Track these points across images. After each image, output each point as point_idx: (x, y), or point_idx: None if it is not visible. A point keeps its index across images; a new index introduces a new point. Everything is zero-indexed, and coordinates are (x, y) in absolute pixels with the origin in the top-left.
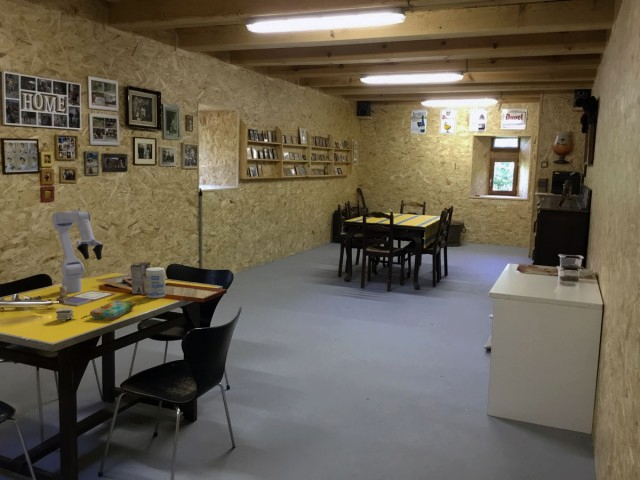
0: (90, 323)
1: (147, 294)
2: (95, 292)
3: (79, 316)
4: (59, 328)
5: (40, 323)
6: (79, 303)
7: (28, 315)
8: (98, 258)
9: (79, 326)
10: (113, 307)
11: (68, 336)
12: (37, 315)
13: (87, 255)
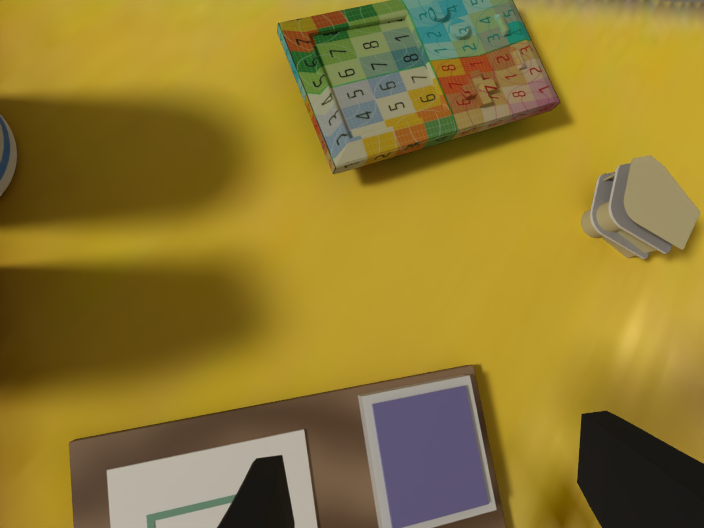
0: (564, 78)
1: (3, 171)
2: None
3: (539, 214)
4: (674, 137)
5: (698, 273)
6: (454, 378)
7: None
8: (289, 517)
9: (613, 86)
10: (464, 27)
11: (691, 28)
12: (659, 422)
13: (656, 444)
